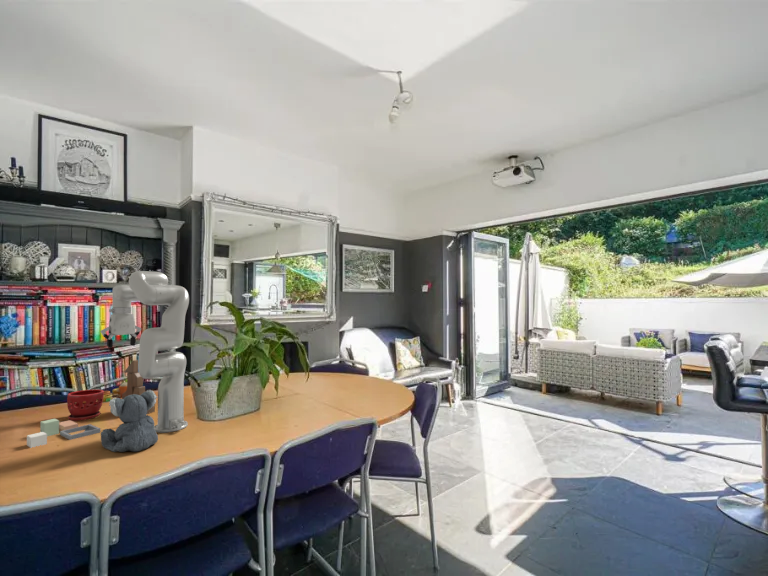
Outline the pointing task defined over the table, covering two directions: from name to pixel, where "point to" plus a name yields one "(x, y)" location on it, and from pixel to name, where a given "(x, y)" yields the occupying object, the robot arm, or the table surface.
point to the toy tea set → (114, 392)
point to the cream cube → (36, 439)
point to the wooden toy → (135, 382)
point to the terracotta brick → (67, 425)
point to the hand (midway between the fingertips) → (121, 346)
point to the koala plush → (131, 424)
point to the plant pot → (84, 404)
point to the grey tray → (88, 430)
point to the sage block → (50, 427)
